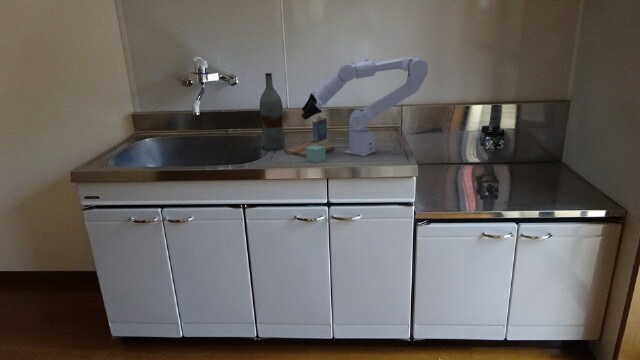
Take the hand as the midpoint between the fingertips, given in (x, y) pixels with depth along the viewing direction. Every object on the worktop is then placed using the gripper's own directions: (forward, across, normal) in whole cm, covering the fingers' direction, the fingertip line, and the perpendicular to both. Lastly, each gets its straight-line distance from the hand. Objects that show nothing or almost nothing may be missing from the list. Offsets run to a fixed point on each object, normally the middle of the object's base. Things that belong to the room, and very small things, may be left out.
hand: (303, 114), depth 167 cm
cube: (+6, +13, +13) cm, 19 cm away
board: (+9, +1, +12) cm, 15 cm away
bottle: (+21, -8, +3) cm, 23 cm away
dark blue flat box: (+8, -18, +17) cm, 26 cm away
